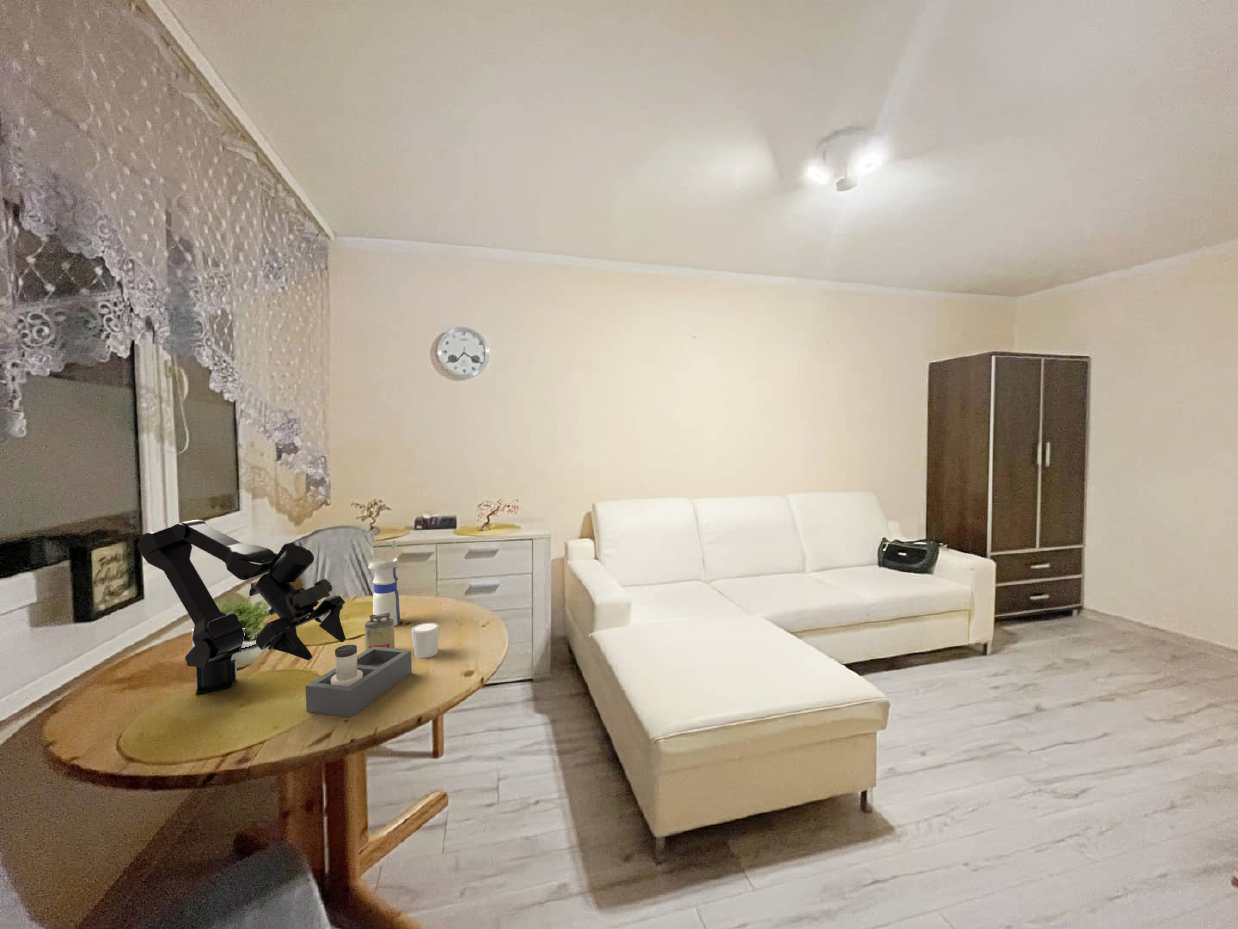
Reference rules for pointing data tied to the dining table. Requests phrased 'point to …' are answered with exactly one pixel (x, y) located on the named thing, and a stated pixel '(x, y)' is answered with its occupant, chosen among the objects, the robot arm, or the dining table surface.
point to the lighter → (379, 632)
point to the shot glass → (425, 639)
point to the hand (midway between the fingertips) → (328, 649)
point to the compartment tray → (359, 683)
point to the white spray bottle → (386, 587)
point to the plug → (346, 666)
